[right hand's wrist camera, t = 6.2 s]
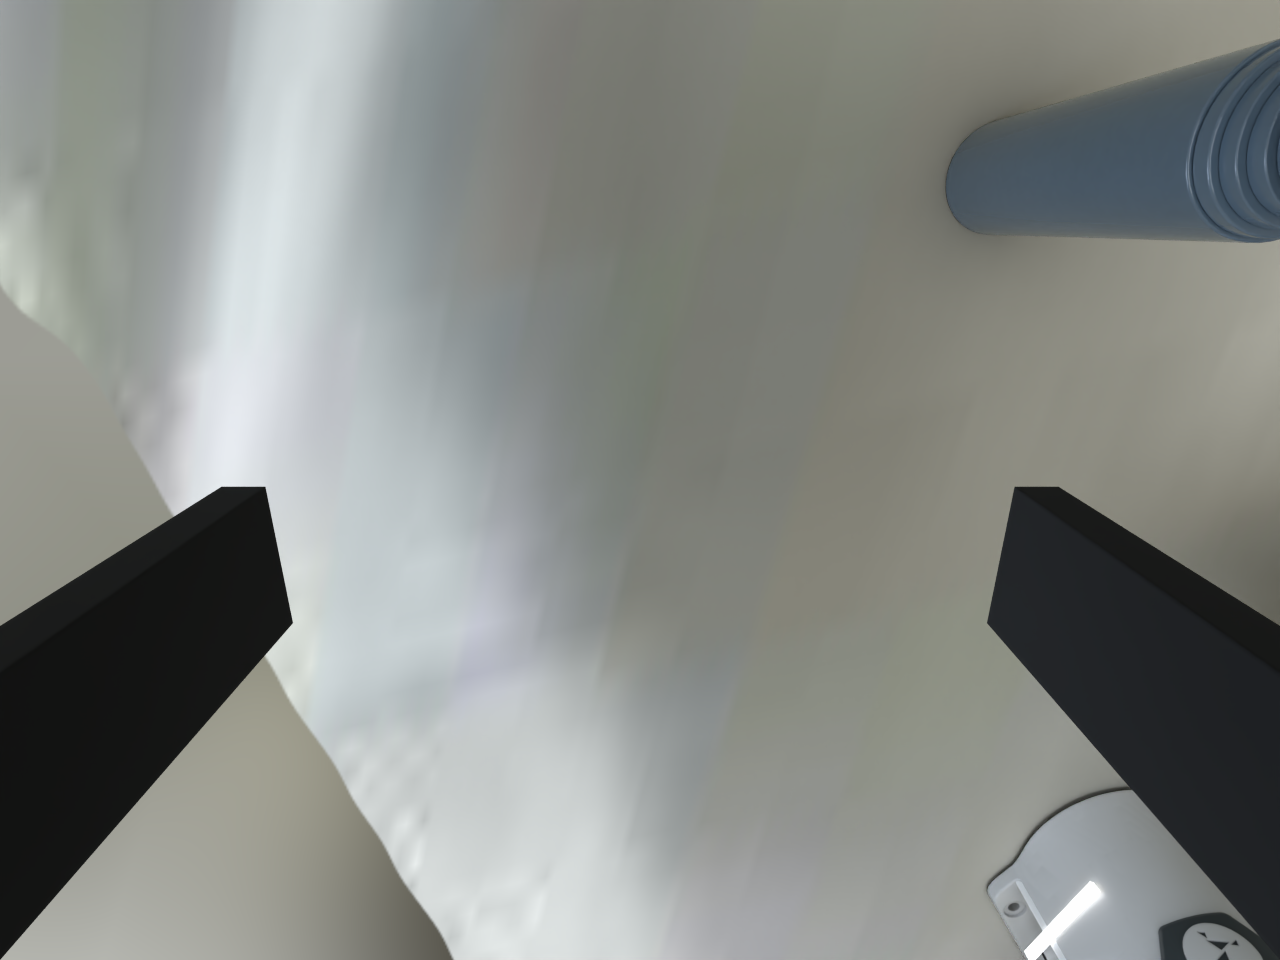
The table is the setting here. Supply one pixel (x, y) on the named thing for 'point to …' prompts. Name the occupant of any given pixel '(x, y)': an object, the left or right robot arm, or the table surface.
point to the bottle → (1135, 159)
